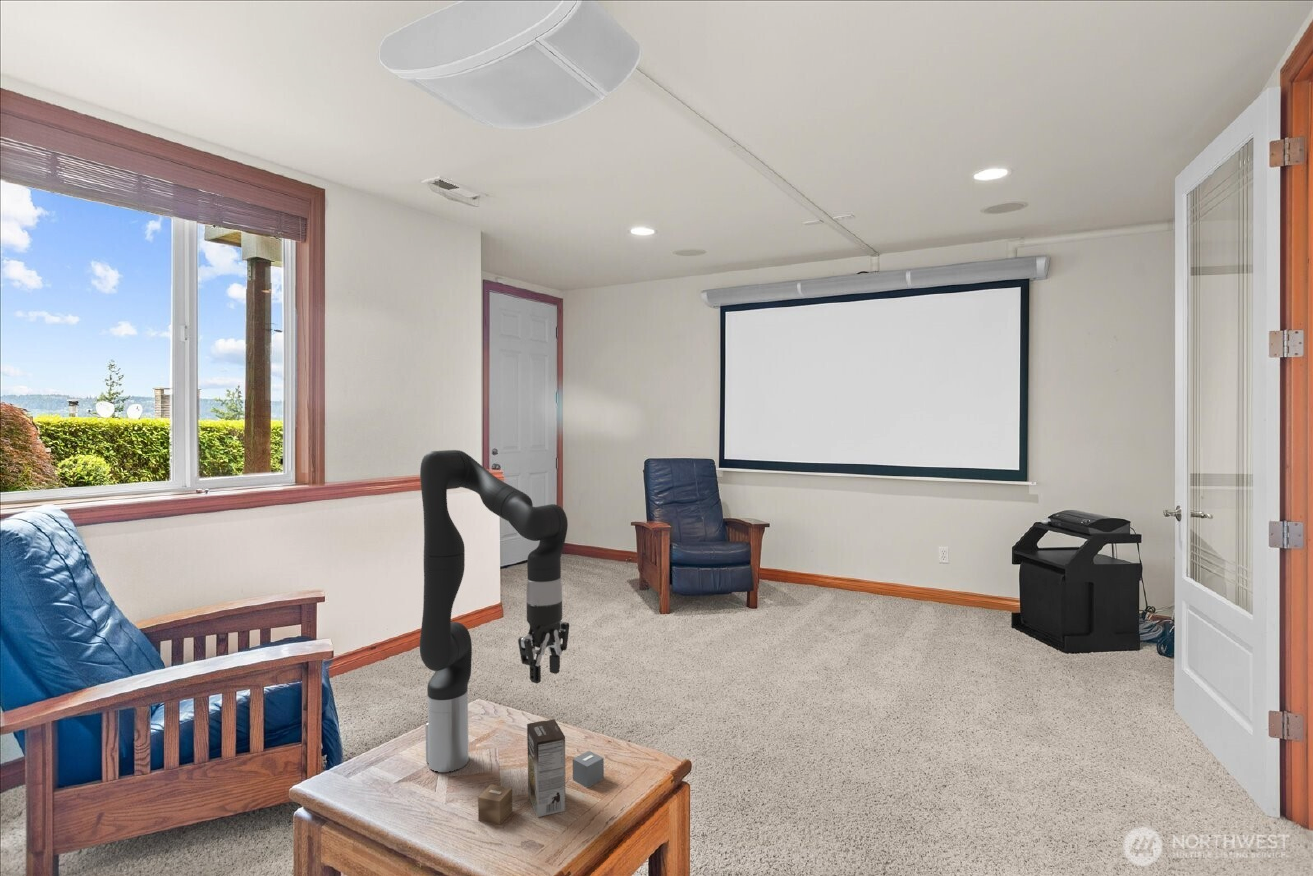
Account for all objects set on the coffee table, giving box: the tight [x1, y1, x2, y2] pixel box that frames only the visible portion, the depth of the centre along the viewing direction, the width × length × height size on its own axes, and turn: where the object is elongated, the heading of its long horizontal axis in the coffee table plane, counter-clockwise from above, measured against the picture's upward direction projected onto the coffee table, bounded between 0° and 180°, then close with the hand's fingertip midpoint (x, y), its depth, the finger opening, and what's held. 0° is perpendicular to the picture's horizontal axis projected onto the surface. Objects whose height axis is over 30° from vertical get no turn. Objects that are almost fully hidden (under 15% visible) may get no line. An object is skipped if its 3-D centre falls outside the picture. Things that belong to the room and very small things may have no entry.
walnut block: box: [477, 784, 513, 826], centre depth 137 cm, size 5×5×5 cm
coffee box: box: [526, 718, 566, 818], centre depth 141 cm, size 9×6×16 cm
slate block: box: [572, 750, 605, 789], centre depth 150 cm, size 5×5×5 cm
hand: (545, 677), depth 140 cm, fingers open, 5 cm apart
